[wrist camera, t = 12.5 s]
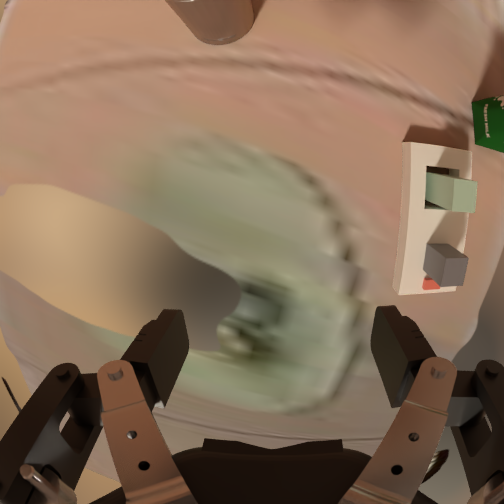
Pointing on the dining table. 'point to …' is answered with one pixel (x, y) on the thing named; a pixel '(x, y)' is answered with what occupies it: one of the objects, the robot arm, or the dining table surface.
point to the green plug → (451, 192)
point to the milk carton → (489, 122)
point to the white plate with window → (430, 224)
